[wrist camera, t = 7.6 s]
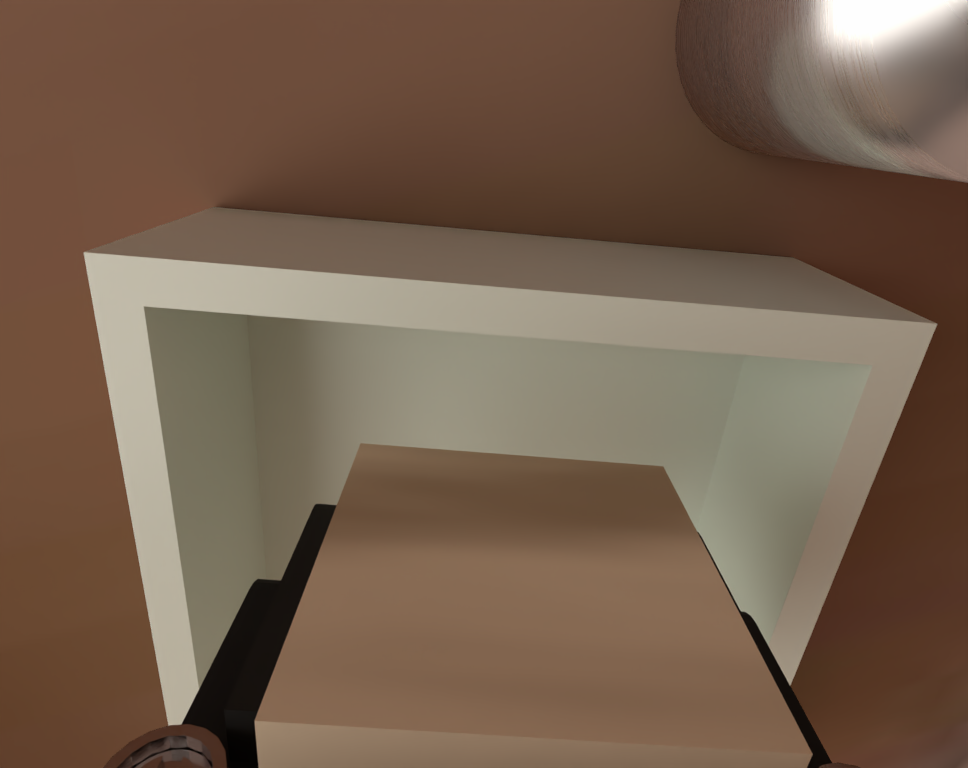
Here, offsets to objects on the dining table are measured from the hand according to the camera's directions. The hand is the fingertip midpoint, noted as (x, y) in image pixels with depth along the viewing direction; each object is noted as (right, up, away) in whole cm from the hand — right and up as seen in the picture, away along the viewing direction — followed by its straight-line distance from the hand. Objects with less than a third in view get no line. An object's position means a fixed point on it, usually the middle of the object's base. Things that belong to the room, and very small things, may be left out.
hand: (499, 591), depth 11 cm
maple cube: (0, 0, 0) cm, 0 cm away
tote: (0, -1, +7) cm, 7 cm away
